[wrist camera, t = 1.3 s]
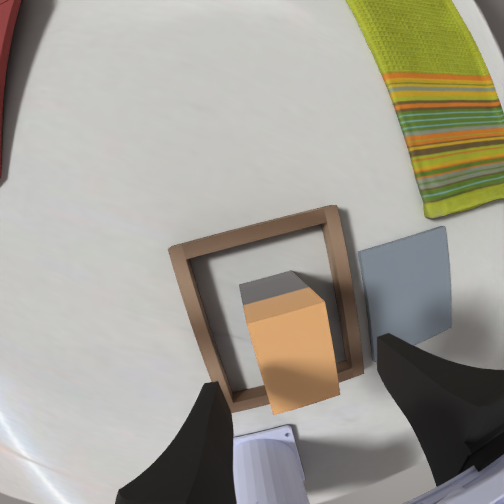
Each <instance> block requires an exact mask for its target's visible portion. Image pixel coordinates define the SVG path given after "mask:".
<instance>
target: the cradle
mask: <svg viewBox="0 0 504 504" xmlns="http://www.w3.org/2000/svg"><path fill="white" fill-rule="evenodd" d="M319 224H321V225H322V230H323V234H324V239H325V244H326V248H327V253H328V258H329V263H330V268H331V273H332V278H333V284H334V289H335V295H336V300H337V306H338V312H339V318H340V324H341V330H342V337H343V343H344V350H345V357H346V360H345V361H342V362H339V363H336V369H337V376H338V382H339V383H340V382H342V381H345V380H348V379H351V378H353V377H356V376H359V375H361V374H364V366H363V357H362V348H361V340H360V332H359V324H358V317H357V310H356V303H355V297H354V291H353V284H352V279H351V273H350V267H349V262H348V256H347V251H346V246H345V241H344V236H343V231H342V226H341V221H340V217H339V212H338V208H337V205H329V206H325V207H321V208H317V209H313V210H309V211H305V212H301V213H297V214H292V215H288V216H284V217H280V218H277V219H273V220H269V221H265V222H261V223H257V224H253V225H249V226H245V227H241V228H238V229H234V230H230V231H226V232H222V233H219V234H215V235H211V236H207V237H204V238H200V239H196V240H193V241H189V242H185V243H182V244H178V245H174V246H171V247H170V248H168V251H169V255H170V258H171V262H172V265H173V269H174V272H175V275H176V279H177V282H178V285H179V288H180V292H181V295H182V298H183V301H184V304H185V307H186V310H187V313H188V316H189V320H190V323H191V325H192V328H193V331H194V334H195V337H196V340H197V343H198V346H199V349H200V351H201V354H202V357H203V360H204V363H205V365H206V368H207V371H208V373H209V376H210V379H211V381H212V382H215V381H218V382H219V385H220V387H221V389H222V392H223V394H224V396H225V399H226V401H227V403H228V405H229V408H230V410H231V413H234V412H239V411H243V410H247V409H252V408H256V407H260V406H264V405H268V404H270V402H269V399H268V395H267V392H266V389H265V385H263V386H259V387H255V388H251V389H247V390H243V391H239V392H235V393H232V390H231V388H230V385H229V382H228V379H227V376H226V374H225V371H224V368H223V365H222V362H221V359H220V356H219V353H218V350H217V347H216V344H215V341H214V338H213V335H212V332H211V329H210V326H209V323H208V320H207V317H206V313H205V310H204V307H203V304H202V301H201V297H200V294H199V291H198V287H197V284H196V281H195V277H194V274H193V270H192V267H191V264H190V260H189V258H193V257H197V256H200V255H204V254H208V253H212V252H215V251H219V250H223V249H227V248H230V247H234V246H238V245H242V244H246V243H249V242H253V241H257V240H261V239H265V238H268V237H272V236H276V235H280V234H284V233H288V232H292V231H295V230H299V229H303V228H307V227H311V226H315V225H319Z"/></svg>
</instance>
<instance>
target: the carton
mask: <svg viewBox="0 0 504 504" xmlns="http://www.w3.org/2000/svg"><path fill="white" fill-rule="evenodd" d="M20 4H21V0H0V178H1V169H2V113H3V98H4V87H5V78H6V71H7V64H8V57H9V51H10V46H11V41H12V36H13V31H14V27H15V23H16V19H17V15H18V11H19V7H20Z"/></svg>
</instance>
